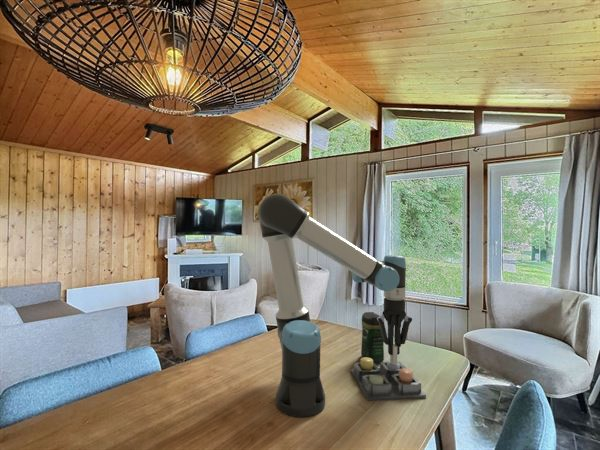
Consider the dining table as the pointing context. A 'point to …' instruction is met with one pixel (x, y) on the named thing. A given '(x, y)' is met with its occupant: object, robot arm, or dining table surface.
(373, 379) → the sage button
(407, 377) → the terracotta button
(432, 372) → the dining table surface
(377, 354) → the coffee jar
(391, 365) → the slate button
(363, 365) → the mustard button
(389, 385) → the button panel
